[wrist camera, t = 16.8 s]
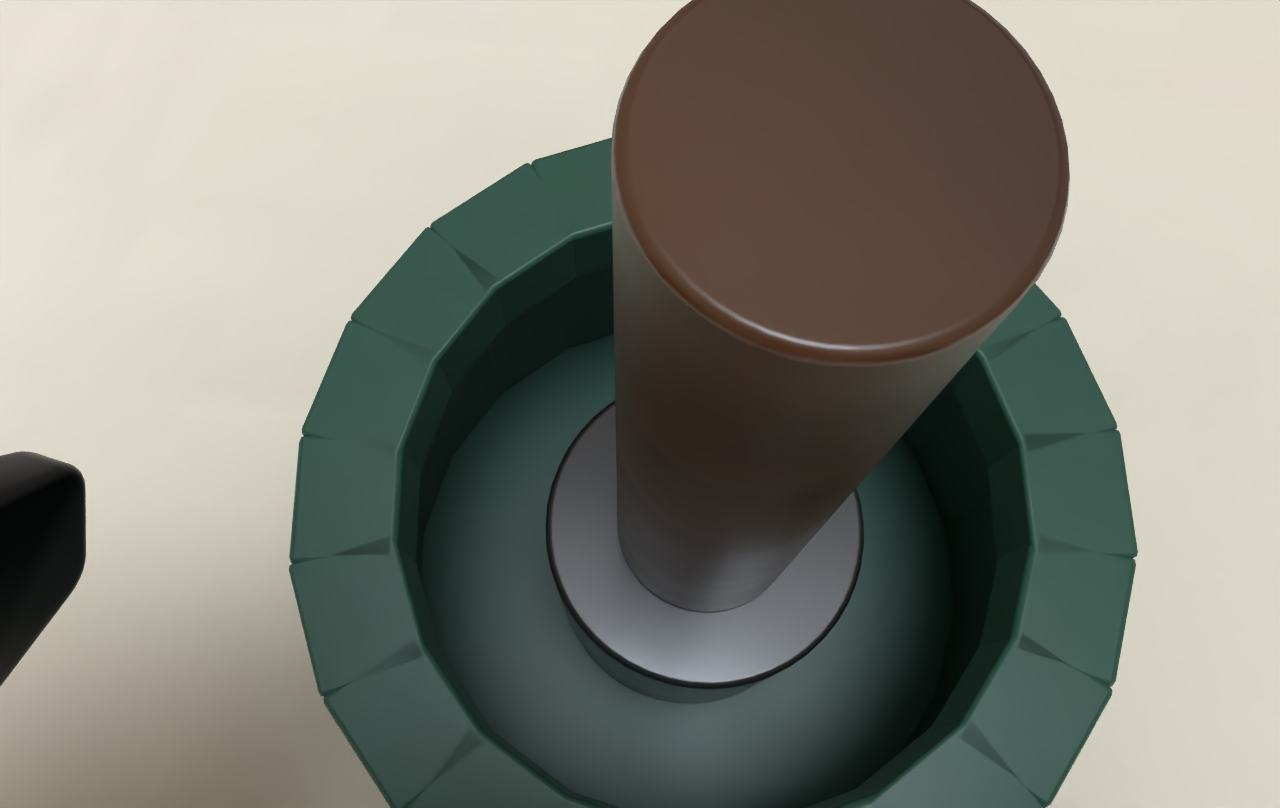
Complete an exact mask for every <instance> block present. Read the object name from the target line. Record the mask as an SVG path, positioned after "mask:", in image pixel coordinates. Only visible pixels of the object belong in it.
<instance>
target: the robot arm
mask: <svg viewBox="0 0 1280 808" xmlns="http://www.w3.org/2000/svg"><path fill="white" fill-rule="evenodd" d="M85 557H86V508H85V481H84V478H83V476H82V474H81V472H80V471H79V470H78V469H77V468H76V467H74V466H73V465H71V464H68V463H65V462H62V461H58V460H55V459H52V458H49V457H46V456H43V455H40V454H37V453H32V452H16V453H11V454H7V455H2V456H0V686H1V685H2V684H3V682H4V681H5V680H6V678H7V677H8V676H9V674H10V673H11V672H12V670H13V669H14V668H15V666H16V665H17V664H18V662H19V661H20V660H21V659H22V657H23V656H24V655H25V653H26V652H27V651H28V649H29V648H30V647H31V645H32V644H33V643H34V641H35V640H36V639H37V637H38V636H39V635H40V633H41V632H42V631H43V630H44V628H45V627H46V626H47V624H48V623H49V622H50V620H51V619H52V618H53V616H54V615H55V614H56V612H57V611H58V610H59V608H60V607H61V606H62V604H63V603H64V602H65V600H66V599H67V598H68V597H69V595H70V594H71V592H72V591H73V589H74V588H75V586H76V585H77V583H78V581H79V579H80V577H81V574H82V571H83V568H84V564H85Z"/></svg>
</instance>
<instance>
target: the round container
mask: <svg viewBox="0 0 1280 808" xmlns="http://www.w3.org/2000/svg"><path fill="white" fill-rule="evenodd" d="M611 147H612V138H609V139H606V140H602V141H599V142H595V143H592V144H588V145H585V146H581V147H578V148H575V149H571V150H568V151H564V152H561V153H557V154H554V155H550V156H547V157H543V158H540V159H536V160H534V161H533V162H532V164H531V165H530V164H529V163H526V164H524V165H522V166H521V167H519V168H518V169H516V170H514V171H513V172H511V173H510V174H508V175H507V176H505V177H503V178H502V179H500V180H499V181H497V182H496V183H494V184H492V185H491V186H489V187H488V188H486V189H485V190H483V191H481V192H480V193H478V194H477V195H475V196H473V197H472V198H470V199H469V200H467V201H466V202H464V203H462V204H461V205H459V206H458V207H456V208H455V209H453V210H451V211H450V212H448V213H447V214H445V215H444V216H442V217H440V218H439V219H437V220H436V221H434V222H433V223H432V224H431V226H430V227H431V228H428V227H427V228H426V229H425V230H424V231H423V232H422V233H421V234H420V235H419V237H418V238H417V239H416V240H415V241H414V242H413V244H412V245H411V246H410V247H409V248H408V249H407V251H406V252H405V253H404V254H403V255H402V256H401V258H400V259H399V260H398V261H397V262H396V263H395V265H394V266H393V267H392V268H391V269H390V270H389V272H388V273H387V274H386V275H385V276H384V277H383V279H382V280H381V281H380V282H379V283H378V284H377V286H376V287H375V288H374V289H373V290H372V291H371V293H370V294H369V295H368V296H367V297H366V298H365V300H364V301H363V302H362V303H361V304H360V305H359V307H358V308H357V309H356V310H355V311H354V312H353V314H352V316H351V319H352V321H348V323H347V324H346V326H345V328H344V331H343V333H342V336H341V338H340V340H339V343H338V345H337V347H336V350H335V352H334V354H333V357H332V359H331V361H330V364H329V366H328V369H327V371H326V373H325V376H324V378H323V380H322V383H321V385H320V387H319V390H318V392H317V394H316V397H315V399H314V402H313V404H312V406H311V409H310V411H309V413H308V416H307V418H306V420H305V423H304V425H303V427H302V434H303V435H304V436H303V437H301V440H300V442H299V451H298V462H297V474H296V486H295V497H294V509H293V521H292V533H291V544H290V556H289V557H290V560H291V563H292V564H291V565H290V566H289V572H290V576H291V580H292V584H293V588H294V593H295V597H296V601H297V605H298V609H299V613H300V617H301V621H302V626H303V630H304V634H305V638H306V642H307V646H308V650H309V654H310V658H311V663H312V667H313V671H314V675H315V679H316V683H317V687H318V691H319V694H320V695H321V696H324V698H323V699H324V704H325V706H326V707H327V709H328V711H329V712H330V714H331V715H332V717H333V718H334V720H335V722H336V723H337V725H338V726H339V728H340V729H341V731H342V733H343V734H344V736H345V737H346V739H347V740H348V742H349V744H350V745H351V747H352V748H353V750H354V751H355V753H356V754H357V756H358V758H359V759H360V761H361V762H362V764H363V765H364V767H365V769H366V770H367V772H368V773H369V775H370V776H371V778H372V780H373V781H374V783H375V784H376V786H377V787H378V789H379V791H380V792H381V794H382V795H383V797H384V798H385V800H386V802H387V803H388V805H389V806H390V808H1045V807H1047V806H1049V805H1050V804H1051V803H1052V801H1053V799H1054V798H1055V796H1056V794H1057V792H1058V791H1059V789H1060V787H1061V785H1062V783H1063V782H1064V780H1065V778H1066V776H1067V774H1068V773H1069V771H1070V769H1071V767H1072V765H1073V764H1074V762H1075V760H1076V758H1077V756H1078V755H1079V753H1080V751H1081V749H1082V748H1083V746H1084V744H1085V742H1086V740H1087V739H1088V737H1089V735H1090V733H1091V731H1092V730H1093V728H1094V726H1095V724H1096V722H1097V721H1098V719H1099V717H1100V715H1101V713H1102V712H1103V710H1104V708H1105V706H1106V705H1107V703H1108V701H1109V699H1110V697H1111V695H1112V689H1111V688H1110V687H1112V685H1113V684H1114V682H1115V681H1116V675H1117V669H1118V664H1119V658H1120V652H1121V647H1122V641H1123V635H1124V630H1125V624H1126V618H1127V613H1128V607H1129V601H1130V595H1131V590H1132V584H1133V578H1134V573H1135V567H1136V564H1135V560H1134V559H1133V558H1134V557H1136V556H1137V553H1138V551H1137V544H1136V537H1135V530H1134V524H1133V517H1132V510H1131V503H1130V497H1129V490H1128V483H1127V476H1126V470H1125V463H1124V456H1123V449H1122V443H1121V436H1120V432H1119V431H1118V430H1115V429H1117V424H1116V421H1115V419H1114V417H1113V415H1112V413H1111V411H1110V409H1109V407H1108V405H1107V403H1106V401H1105V399H1104V397H1103V394H1102V392H1101V390H1100V388H1099V386H1098V384H1097V382H1096V380H1095V378H1094V376H1093V374H1092V372H1091V370H1090V368H1089V366H1088V364H1087V361H1086V359H1085V357H1084V355H1083V353H1082V351H1081V349H1080V347H1079V345H1078V343H1077V341H1076V339H1075V337H1074V335H1073V333H1072V331H1071V328H1070V326H1069V324H1068V322H1067V320H1066V319H1065V318H1064V317H1061V312H1060V310H1059V309H1058V308H1057V307H1056V306H1055V305H1054V303H1053V302H1052V301H1051V300H1050V299H1049V298H1048V297H1047V296H1046V295H1045V294H1044V293H1043V291H1042V290H1041V289H1040V288H1039V287H1038V286H1037V285H1036V284H1034V285H1033V286H1032V287H1031V289H1030V290H1029V291H1028V292H1027V293H1026V295H1025V296H1024V297H1023V298H1022V300H1021V301H1020V302H1019V303H1018V304H1017V305H1016V307H1015V308H1014V309H1013V310H1012V311H1011V312H1010V313H1009V314H1008V316H1007V317H1006V318H1005V319H1004V320H1003V321H1002V322H1001V324H1000V325H999V326H998V327H997V328H996V329H995V330H994V332H993V333H992V334H991V335H990V336H989V337H988V338H987V340H986V341H985V342H984V343H983V344H982V345H981V346H980V348H979V349H978V350H977V351H976V352H975V353H974V354H973V356H972V357H971V358H970V359H969V360H968V361H967V362H966V364H965V365H964V366H963V367H962V368H961V369H960V370H959V372H958V373H957V374H956V375H955V376H954V377H953V378H952V379H951V381H950V382H949V383H948V384H947V385H946V386H945V387H944V389H943V390H942V391H941V392H940V393H939V394H938V395H937V397H936V398H935V399H934V400H933V401H932V402H931V403H930V405H929V406H928V407H927V408H926V409H925V410H924V411H923V413H922V414H921V415H920V416H919V417H918V418H917V419H916V421H915V422H914V423H913V424H912V425H911V426H910V427H909V429H908V430H907V431H906V432H905V433H904V434H903V435H902V436H901V438H900V439H899V440H898V441H897V442H896V443H895V444H894V446H893V447H892V448H891V449H890V450H889V451H888V452H887V454H886V455H885V456H884V457H883V458H882V459H881V460H880V462H879V463H878V464H877V465H876V466H875V467H874V468H873V470H872V471H871V472H870V473H869V474H868V475H867V476H866V478H865V479H864V480H863V481H862V482H861V483H860V484H859V486H858V487H857V491H858V494H859V498H860V502H861V507H862V514H863V522H864V548H863V556H862V564H861V568H860V572H859V576H858V579H857V583H856V586H855V589H854V591H853V593H852V596H851V598H850V601H849V603H848V605H847V607H846V608H845V610H844V612H843V613H842V615H841V617H840V619H839V620H838V622H837V623H836V625H835V626H834V627H833V628H832V630H831V631H830V632H829V633H828V635H827V636H826V637H825V638H824V639H823V640H822V641H821V642H820V643H819V644H818V645H817V646H816V647H815V648H814V649H813V650H812V651H811V652H810V653H809V654H807V655H806V656H805V657H803V658H802V659H800V660H799V661H798V662H796V663H795V664H793V665H792V666H790V667H788V668H787V669H785V670H783V671H781V672H779V673H777V674H775V675H773V676H771V677H770V678H768V679H766V680H764V681H762V682H760V683H758V684H756V685H754V686H753V687H751V688H749V689H747V690H745V691H743V692H741V693H739V694H736V695H733V696H731V697H728V698H725V699H721V700H717V701H712V702H707V703H694V704H686V703H672V702H667V701H662V700H657V699H654V698H651V697H648V696H645V695H642V694H640V693H638V692H636V691H634V690H632V689H630V688H628V687H626V686H624V685H622V684H621V683H619V682H618V681H617V680H615V679H614V678H612V677H611V676H610V675H608V674H607V673H606V672H605V671H604V670H603V669H602V668H601V667H599V666H598V665H597V663H596V662H595V661H594V660H593V659H592V658H591V656H590V655H589V654H588V653H587V652H586V650H585V649H584V647H583V646H582V644H581V642H580V641H579V639H578V638H577V636H576V634H575V631H574V629H573V627H572V625H571V623H570V621H569V618H568V615H567V613H566V610H565V608H564V605H563V602H562V600H561V597H560V594H559V592H558V589H557V586H556V583H555V580H554V577H553V574H552V571H551V568H550V563H549V558H548V552H547V547H546V528H545V525H546V513H547V504H548V499H549V495H550V490H551V486H552V483H553V480H554V477H555V475H556V472H557V469H558V466H559V464H560V463H561V461H562V459H563V457H564V455H565V453H566V451H567V449H568V448H569V446H570V445H571V443H572V442H573V440H574V439H575V438H576V436H577V435H578V433H579V432H580V431H581V430H582V429H583V428H584V427H585V425H586V424H587V423H588V422H589V421H590V420H591V419H592V418H593V417H594V416H595V415H596V414H598V413H599V412H600V411H601V410H602V409H604V408H605V407H606V406H607V405H608V404H610V403H612V402H613V401H615V354H614V295H613V235H612V175H611Z"/></svg>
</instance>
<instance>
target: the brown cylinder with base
mask: <svg viewBox="0 0 1280 808" xmlns="http://www.w3.org/2000/svg"><path fill="white" fill-rule="evenodd" d="M611 175H612V235H613V295H614V354H615V401H613V402H612V403H610V404H608V405H607V406H606V407H605V408H604V409H602V410H601V411H600V412H599V413H598V414H596V415H595V416H594V417H593V418H592V419H591V420H590V421H589V422H588V423H587V424H586V425H585V427H584V428H583V429H582V430H581V431H580V432H579V433H578V435H577V436H576V438H575V439H574V440H573V442H572V443H571V445H570V446H569V448H568V449H567V451H566V453H565V455H564V457H563V459H562V461H561V463H560V464H559V466H558V469H557V472H556V475H555V477H554V480H553V483H552V486H551V490H550V495H549V499H548V504H547V513H546V525H545V528H546V547H547V552H548V558H549V563H550V568H551V571H552V574H553V577H554V580H555V583H556V586H557V589H558V592H559V594H560V597H561V600H562V602H563V605H564V608H565V610H566V613H567V615H568V618H569V621H570V623H571V625H572V627H573V629H574V631H575V634H576V636H577V638H578V639H579V641H580V642H581V644H582V646H583V647H584V649H585V650H586V652H587V653H588V654H589V655H590V656H591V658H592V659H593V660H594V661H595V662H596V663H597V665H598V666H599V667H601V668H602V669H603V670H604V671H605V672H606V673H607V674H608V675H610V676H611V677H612V678H614V679H615V680H617V681H618V682H619V683H621V684H622V685H624V686H626V687H628V688H630V689H632V690H634V691H636V692H638V693H640V694H642V695H645V696H648V697H651V698H654V699H657V700H662V701H667V702H672V703H686V704H694V703H707V702H712V701H717V700H721V699H725V698H728V697H731V696H733V695H736V694H739V693H741V692H743V691H745V690H747V689H749V688H751V687H753V686H754V685H756V684H758V683H760V682H762V681H764V680H766V679H768V678H770V677H771V676H773V675H775V674H777V673H779V672H781V671H783V670H785V669H787V668H788V667H790V666H792V665H793V664H795V663H796V662H798V661H799V660H800V659H802V658H803V657H805V656H806V655H807V654H809V653H810V652H811V651H812V650H813V649H814V648H815V647H816V646H817V645H818V644H819V643H820V642H821V641H822V640H823V639H824V638H825V637H826V636H827V635H828V633H829V632H830V631H831V630H832V628H833V627H834V626H835V625H836V623H837V622H838V620H839V619H840V617H841V615H842V613H843V612H844V610H845V608H846V607H847V605H848V603H849V601H850V598H851V596H852V593H853V591H854V589H855V586H856V583H857V579H858V576H859V572H860V568H861V564H862V556H863V548H864V522H863V514H862V507H861V502H860V498H859V494H858V491H857V487H858V486H859V484H860V483H861V482H862V481H863V480H864V479H865V478H866V476H867V475H868V474H869V473H870V472H871V471H872V470H873V468H874V467H875V466H876V465H877V464H878V463H879V462H880V460H881V459H882V458H883V457H884V456H885V455H886V454H887V452H888V451H889V450H890V449H891V448H892V447H893V446H894V444H895V443H896V442H897V441H898V440H899V439H900V438H901V436H902V435H903V434H904V433H905V432H906V431H907V430H908V429H909V427H910V426H911V425H912V424H913V423H914V422H915V421H916V419H917V418H918V417H919V416H920V415H921V414H922V413H923V411H924V410H925V409H926V408H927V407H928V406H929V405H930V403H931V402H932V401H933V400H934V399H935V398H936V397H937V395H938V394H939V393H940V392H941V391H942V390H943V389H944V387H945V386H946V385H947V384H948V383H949V382H950V381H951V379H952V378H953V377H954V376H955V375H956V374H957V373H958V372H959V370H960V369H961V368H962V367H963V366H964V365H965V364H966V362H967V361H968V360H969V359H970V358H971V357H972V356H973V354H974V353H975V352H976V351H977V350H978V349H979V348H980V346H981V345H982V344H983V343H984V342H985V341H986V340H987V338H988V337H989V336H990V335H991V334H992V333H993V332H994V330H995V329H996V328H997V327H998V326H999V325H1000V324H1001V322H1002V321H1003V320H1004V319H1005V318H1006V317H1007V316H1008V314H1009V313H1010V312H1011V311H1012V310H1013V309H1014V308H1015V307H1016V305H1017V304H1018V303H1019V302H1020V301H1021V300H1022V298H1023V297H1024V296H1025V295H1026V293H1027V292H1028V291H1029V290H1030V289H1031V287H1032V286H1033V285H1034V284H1035V282H1036V281H1037V280H1038V278H1039V277H1040V275H1041V273H1042V271H1043V270H1044V268H1045V266H1046V265H1047V263H1048V261H1049V260H1050V258H1051V256H1052V254H1053V251H1054V249H1055V246H1056V244H1057V241H1058V239H1059V236H1060V234H1061V231H1062V227H1063V223H1064V219H1065V214H1066V210H1067V206H1068V194H1069V181H1070V175H1069V160H1068V146H1067V141H1066V136H1065V132H1064V127H1063V123H1062V119H1061V116H1060V113H1059V111H1058V108H1057V105H1056V102H1055V100H1054V97H1053V95H1052V93H1051V91H1050V89H1049V87H1048V85H1047V83H1046V81H1045V79H1044V77H1043V76H1042V74H1041V72H1040V70H1039V69H1038V67H1037V66H1036V65H1035V63H1034V62H1033V60H1032V59H1031V57H1030V56H1029V55H1028V53H1027V52H1026V50H1025V49H1024V48H1023V47H1022V46H1021V45H1020V44H1019V42H1018V41H1017V40H1016V39H1015V38H1014V37H1013V36H1012V35H1011V34H1010V32H1009V31H1008V30H1007V29H1006V28H1005V27H1003V26H1002V25H1001V24H1000V23H999V22H998V21H997V20H995V19H994V18H993V17H992V16H991V15H990V14H989V13H987V12H986V11H985V10H984V9H982V8H981V7H979V6H978V5H976V4H975V3H973V2H972V1H970V0H692V1H691V2H689V3H688V4H687V5H685V6H684V7H683V8H681V9H680V10H679V11H678V12H677V13H676V14H675V15H674V16H673V17H672V18H671V19H670V20H669V21H668V22H667V23H666V24H665V25H664V26H663V27H662V28H661V29H660V30H659V31H658V32H657V33H656V35H655V36H654V37H653V38H652V40H651V41H650V42H649V44H648V45H647V46H646V48H645V49H644V50H643V51H642V53H641V54H640V56H639V58H638V60H637V61H636V63H635V65H634V67H633V68H632V70H631V72H630V74H629V75H628V78H627V80H626V83H625V86H624V88H623V91H622V93H621V96H620V98H619V101H618V106H617V110H616V115H615V119H614V124H613V133H612V147H611Z"/></svg>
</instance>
